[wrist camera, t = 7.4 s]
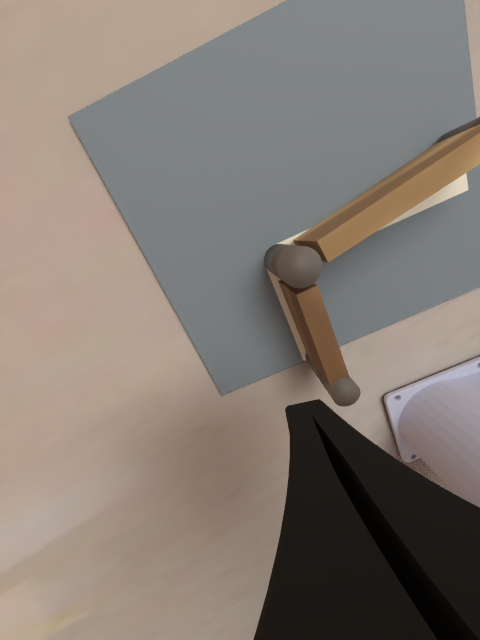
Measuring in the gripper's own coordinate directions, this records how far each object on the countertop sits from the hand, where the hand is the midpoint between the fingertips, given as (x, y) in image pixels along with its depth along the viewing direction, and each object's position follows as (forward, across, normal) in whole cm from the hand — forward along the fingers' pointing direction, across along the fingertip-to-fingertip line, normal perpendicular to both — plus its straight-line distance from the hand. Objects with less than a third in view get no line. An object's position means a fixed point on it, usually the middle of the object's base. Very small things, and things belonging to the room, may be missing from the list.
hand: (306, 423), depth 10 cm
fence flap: (+9, -8, -8) cm, 15 cm away
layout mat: (+10, -4, -8) cm, 13 cm away
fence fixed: (+10, -3, -1) cm, 10 cm away
